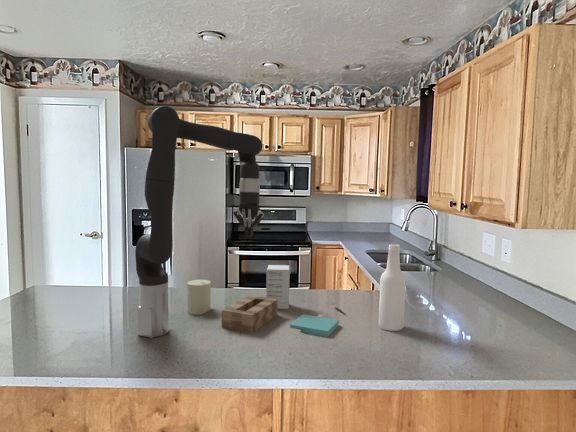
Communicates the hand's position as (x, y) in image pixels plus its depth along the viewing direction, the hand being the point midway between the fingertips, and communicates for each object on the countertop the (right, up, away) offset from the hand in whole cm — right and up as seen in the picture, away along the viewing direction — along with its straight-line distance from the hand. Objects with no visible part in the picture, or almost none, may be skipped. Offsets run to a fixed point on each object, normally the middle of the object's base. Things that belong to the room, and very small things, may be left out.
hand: (248, 237), depth 150 cm
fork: (+35, -31, +14) cm, 48 cm away
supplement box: (+11, -30, +15) cm, 35 cm away
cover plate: (+18, -31, -4) cm, 36 cm away
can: (-21, -30, +9) cm, 37 cm away
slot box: (+1, -31, -4) cm, 32 cm away
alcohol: (+52, -32, -6) cm, 61 cm away
